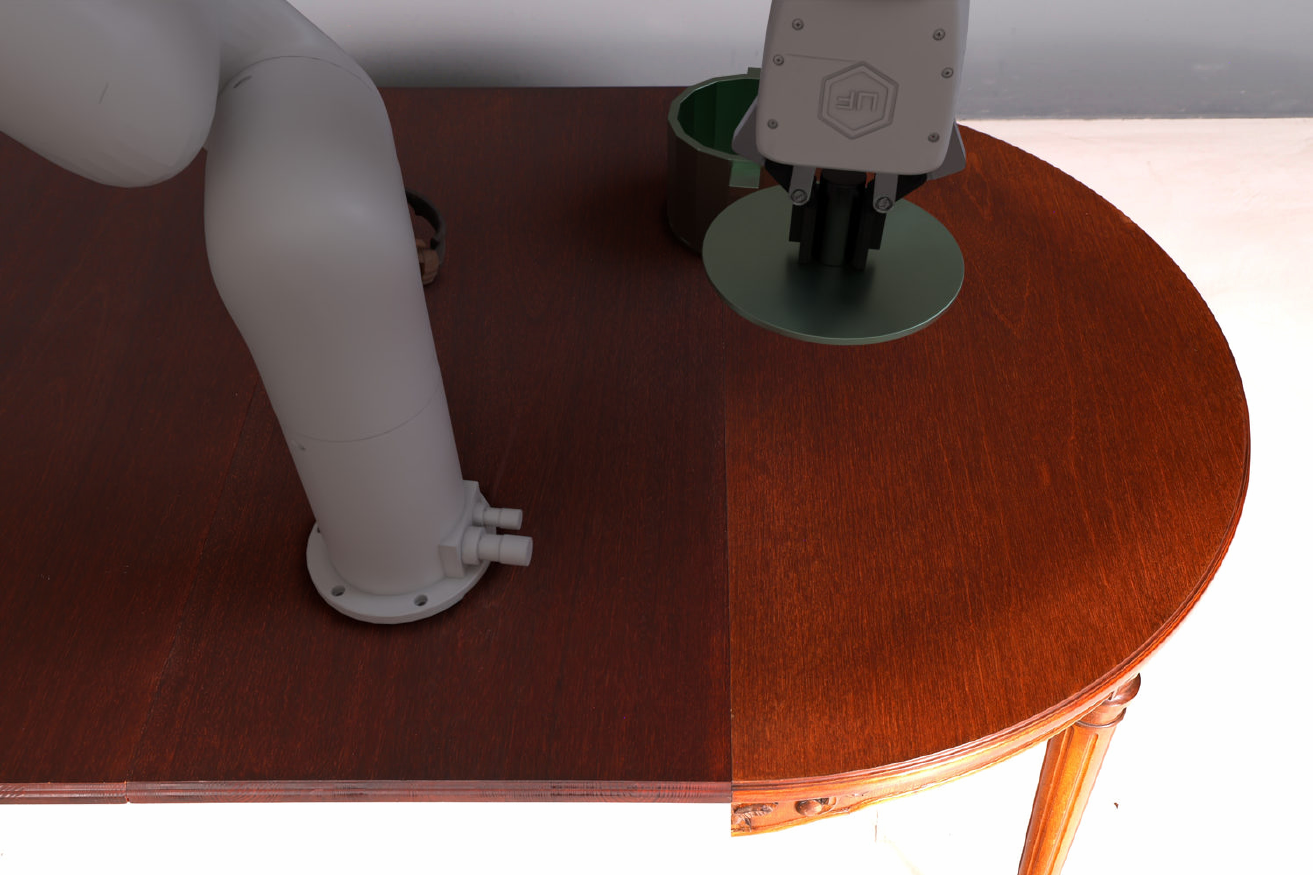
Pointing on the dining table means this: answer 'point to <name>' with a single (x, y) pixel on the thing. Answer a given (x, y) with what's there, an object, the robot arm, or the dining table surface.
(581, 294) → the dining table surface
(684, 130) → the pot
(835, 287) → the lid
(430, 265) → the pottery mug
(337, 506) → the robot arm
